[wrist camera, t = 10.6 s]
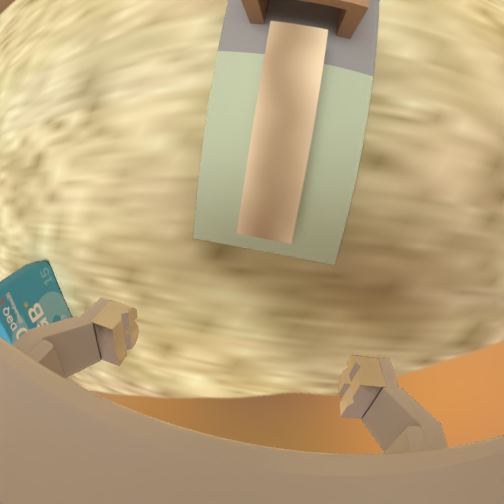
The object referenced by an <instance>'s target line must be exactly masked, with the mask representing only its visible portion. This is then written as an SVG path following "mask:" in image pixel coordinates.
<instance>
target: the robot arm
mask: <svg viewBox="0 0 504 504" xmlns="http://www.w3.org/2000/svg"><path fill="white" fill-rule="evenodd" d="M136 318H137V310H136V309H135V308H134V307H131V306H128V305H125V304H122V303H119V302H116V301H113V300H110V299H107V298H104V297H103V298H100V299H99V300H98V301H97V302H96V303H94V304H93V305H92V306H91V307H90V308H89V309H88V310H87V311H86V312H85V313H84V314H82V315H81V316H80V317H77V316H76V317H72V318H69V319H65V320H61V321H58V322H54V323H51V324H47V325H43V326H40V327H36V328H32V329H29V330H28V331H27V332H25V333H24V334H23V335H22V336H21V337H20V338H19V339H18V340H17V341H16V342H14V343H13V344H12V345H11V344H9V343H8V342H6V341H5V340H4V339H2V338H1V337H0V504H504V435H502V436H498V437H495V438H491V439H487V440H483V441H479V442H475V443H470V444H465V445H460V446H454V447H448V445H447V441H446V438H445V435H444V432H443V428H442V425H441V423H440V422H439V421H437V420H436V419H435V418H434V417H433V416H432V415H431V414H430V413H429V412H428V411H427V410H425V409H424V408H423V407H422V406H421V405H420V404H419V403H418V402H417V401H416V400H415V399H413V398H412V397H411V396H410V395H409V394H408V393H407V392H406V391H405V390H404V389H403V388H399V386H398V382H397V379H396V376H395V373H394V370H393V367H392V364H391V361H390V359H389V358H381V357H367V356H358V355H351V357H350V358H349V360H348V362H347V364H348V368H347V369H345V370H344V371H343V372H342V375H341V377H340V380H339V386H338V392H339V395H340V396H341V397H342V400H341V401H340V403H339V404H340V415H341V417H347V418H359V419H361V420H362V421H363V423H364V424H365V426H366V427H367V429H368V430H369V431H370V433H371V434H372V436H373V437H374V438H375V440H376V441H377V443H378V444H379V445H380V447H381V448H382V450H383V451H384V453H383V454H334V453H332V454H331V453H318V452H306V451H295V450H287V449H280V448H273V447H266V446H260V445H254V444H249V443H243V442H238V441H234V440H229V439H225V438H221V437H217V436H212V435H208V434H204V433H201V432H197V431H194V430H190V429H187V428H183V427H180V426H177V425H174V424H171V423H168V422H164V421H162V420H159V419H156V418H153V417H150V416H147V415H145V414H142V413H139V412H137V411H134V410H132V409H129V408H127V407H124V406H122V405H120V404H117V403H115V402H112V401H110V400H108V399H106V398H103V397H101V396H99V395H97V394H95V393H93V392H91V391H89V390H87V389H85V388H83V387H81V386H79V385H77V384H75V383H73V382H71V381H69V380H67V379H66V377H68V376H70V375H73V374H75V373H77V372H79V371H81V370H83V369H85V368H87V367H89V366H91V365H93V364H95V363H97V362H99V361H101V359H102V360H104V361H107V362H110V363H112V364H115V365H118V366H120V364H121V363H122V362H123V360H124V359H125V358H126V356H127V351H126V350H129V349H131V348H133V347H134V345H135V344H136V341H137V338H138V333H139V329H138V325H137V324H136V322H135V321H134V320H135V319H136Z"/></svg>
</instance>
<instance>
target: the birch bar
mask: <svg viewBox="0 0 504 504" xmlns="http://www.w3.org/2000/svg"><path fill="white" fill-rule="evenodd" d="M327 35H328V30H326V29H322V28H316V27H311V26H305V25H299V24H292V23H285V22H277V21H270V27H269V33H268V38H267V44H266V50H265V55H264V61H263V67H262V73H261V79H260V85H259V91H258V97H257V103H256V109H255V115H254V122H253V128H252V134H251V141H250V147H249V154H248V160H247V167H246V173H245V180H244V187H243V194H242V200H241V207H240V214H239V221H238V228H237V234H242V235H247V236H252V237H258V238H263V239H268V240H274V241H279V242H284V243H289V244H291V243H292V238H293V233H294V228H295V223H296V219H297V214H298V209H299V204H300V199H301V193H302V188H303V183H304V178H305V172H306V167H307V162H308V156H309V151H310V145H311V139H312V134H313V128H314V122H315V116H316V110H317V104H318V97H319V91H320V84H321V78H322V71H323V64H324V57H325V50H326V42H327Z"/></svg>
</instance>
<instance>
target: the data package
mask: <svg viewBox="0 0 504 504" xmlns="http://www.w3.org/2000/svg"><path fill="white" fill-rule="evenodd" d="M69 318H72V316H71V314H70V311H69V309H68V307H67V305H66V303H65V300H64V298H63V296H62V293H61V291H60V289H59V286H58V284H57V281H56V279H55V276H54V274H53V271H52V269H51V267H50V265H49V264H48V263H47V262H44V261H41V262H37V263H32V264H27V265H25V266H24V267H22V268H21V269H19V270H17V271H16V272H14V273H13V274H11V275H10V276H8V277H7V278H5V279H4V280H2V281H1V282H0V337H1V338H2V339H4V340H5V341H6V342H8V343H9V344H11V345H12V344H13V343H14V342H16V341H17V340H18V339H19V338H20V337H21V336H22V335H23V334H24V333H25V332H27V331H28V330H29V329H32V328H36V327H40V326H43V325H47V324H51V323H54V322H58V321H61V320H65V319H69Z"/></svg>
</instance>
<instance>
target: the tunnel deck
mask: <svg viewBox="0 0 504 504" xmlns="http://www.w3.org/2000/svg"><path fill="white" fill-rule="evenodd" d="M378 17H379V0H229V1H228V5H227V9H226V14H225V18H224V23H223V28H222V33H221V37H220V42H219V47H218V53H217V58H216V63H215V69H214V74H213V80H212V86H211V92H210V98H209V104H208V111H207V118H206V124H205V132H204V139H203V146H202V154H201V162H200V171H199V179H198V189H197V198H196V208H195V219H194V231H193V238H194V239H199V240H205V241H210V242H215V243H221V244H226V245H231V246H236V247H242V248H247V249H252V250H257V251H263V252H268V253H273V254H278V255H284V256H289V257H294V258H299V259H304V260H310V261H315V262H320V263H325V264H330V265H335V262H336V259H337V255H338V251H339V248H340V244H341V240H342V236H343V232H344V228H345V224H346V220H347V216H348V212H349V208H350V204H351V199H352V195H353V191H354V186H355V181H356V177H357V172H358V167H359V162H360V157H361V152H362V146H363V141H364V135H365V129H366V123H367V117H368V111H369V104H370V97H371V90H372V82H373V74H374V65H375V56H376V45H377V32H378ZM270 21H277V22H285V23H292V24H299V25H305V26H311V27H316V28H322V29H326V30H328V35H327V42H326V50H325V57H324V64H323V71H322V78H321V84H320V91H319V97H318V104H317V110H316V116H315V122H314V128H313V134H312V139H311V145H310V151H309V156H308V162H307V167H306V172H305V178H304V183H303V188H302V193H301V199H300V204H299V209H298V214H297V219H296V223H295V228H294V233H293V238H292V243H291V244H289V243H284V242H279V241H274V240H268V239H263V238H258V237H252V236H247V235H242V234H237V228H238V221H239V214H240V207H241V200H242V194H243V187H244V180H245V173H246V167H247V160H248V154H249V147H250V141H251V134H252V128H253V122H254V115H255V109H256V103H257V97H258V91H259V85H260V79H261V73H262V67H263V61H264V55H265V50H266V44H267V38H268V33H269V27H270Z"/></svg>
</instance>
